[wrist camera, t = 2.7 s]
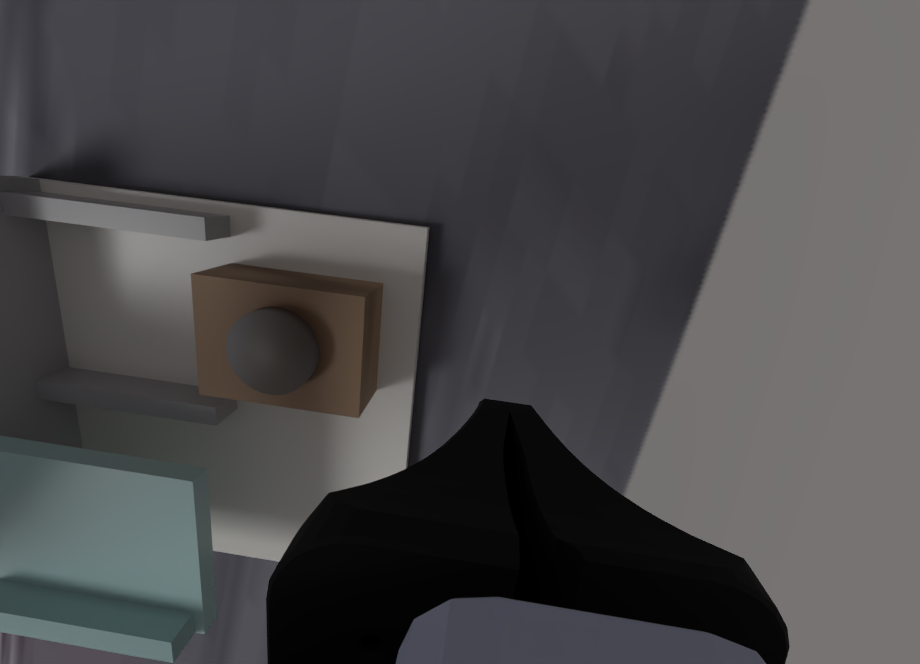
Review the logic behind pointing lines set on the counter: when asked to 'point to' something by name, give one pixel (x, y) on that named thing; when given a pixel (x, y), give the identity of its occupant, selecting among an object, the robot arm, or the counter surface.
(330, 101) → the counter surface
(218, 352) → the block
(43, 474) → the cover
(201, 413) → the housing
